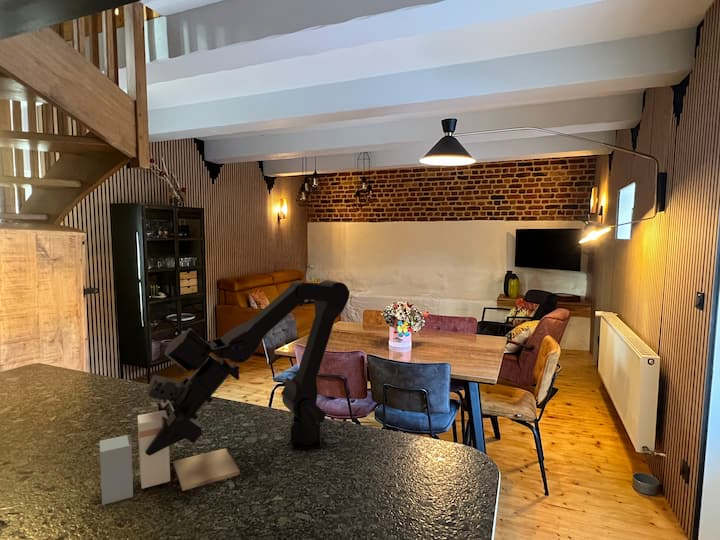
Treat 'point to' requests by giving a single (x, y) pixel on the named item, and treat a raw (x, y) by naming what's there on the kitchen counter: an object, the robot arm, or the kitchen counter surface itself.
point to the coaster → (205, 468)
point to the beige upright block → (157, 464)
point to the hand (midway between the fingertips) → (146, 449)
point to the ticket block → (116, 469)
